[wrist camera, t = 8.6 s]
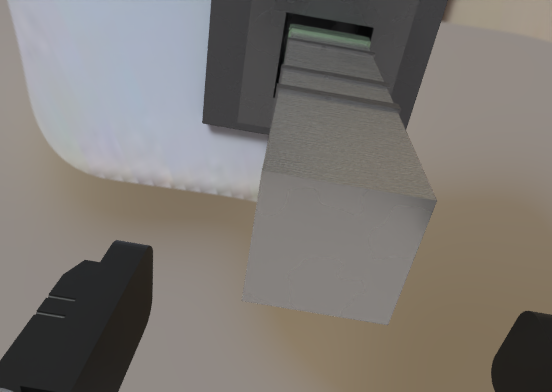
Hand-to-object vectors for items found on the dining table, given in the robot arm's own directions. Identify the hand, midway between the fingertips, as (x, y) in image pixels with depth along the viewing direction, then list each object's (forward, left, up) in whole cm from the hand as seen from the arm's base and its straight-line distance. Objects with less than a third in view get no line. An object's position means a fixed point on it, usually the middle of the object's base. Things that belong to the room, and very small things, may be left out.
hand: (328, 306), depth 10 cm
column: (0, 0, -20) cm, 20 cm away
